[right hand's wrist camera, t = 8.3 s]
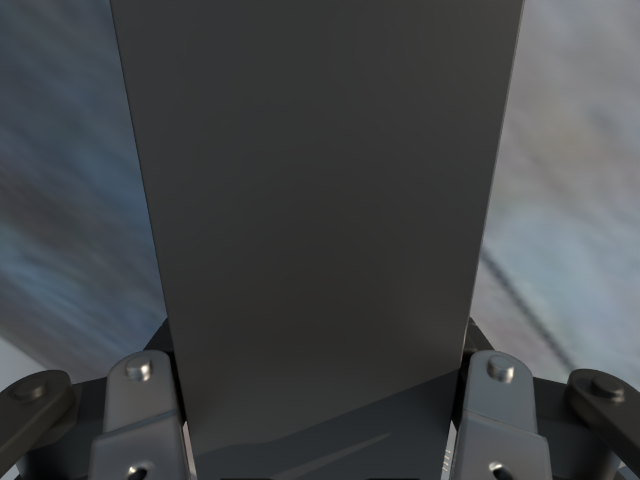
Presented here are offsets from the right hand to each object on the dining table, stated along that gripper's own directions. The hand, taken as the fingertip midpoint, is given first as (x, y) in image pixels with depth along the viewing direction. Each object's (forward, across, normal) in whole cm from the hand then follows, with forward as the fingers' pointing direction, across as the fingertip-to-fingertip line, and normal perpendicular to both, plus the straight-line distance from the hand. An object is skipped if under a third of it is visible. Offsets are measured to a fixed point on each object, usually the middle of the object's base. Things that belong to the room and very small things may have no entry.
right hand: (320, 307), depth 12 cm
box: (+8, 0, +9) cm, 12 cm away
